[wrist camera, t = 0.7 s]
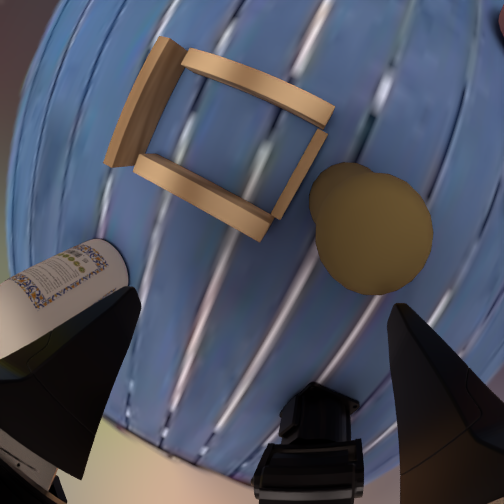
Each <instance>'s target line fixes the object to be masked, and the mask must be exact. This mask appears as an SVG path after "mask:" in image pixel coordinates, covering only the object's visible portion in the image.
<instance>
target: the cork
mask: <svg viewBox="0 0 504 504" xmlns="http://www.w3.org/2000/svg"><path fill="white" fill-rule="evenodd" d="M309 209H310V212H311V215H312V219H313V221H314V222H315V224H316V246H317V249H318V253H319V256H320V260H321V262H322V263H323V265H324V266H325V268H326V269H327V271H328V272H329V274H330V275H331V276H332V277H333V278H334V279H335V280H336V281H338V282H339V283H340V284H342V285H343V286H344V287H345V288H347V289H349V290H352V291H354V292H357V293H360V294H363V295H383V294H386V293H390V292H393V291H397V290H398V289H400V288H402V287H403V286H405V285H406V284H408V283H409V282H411V281H412V280H413V279H414V278H415V277H416V275H417V274H418V273H419V272H420V271H421V270H422V268H423V267H424V265H425V263H426V261H427V258H428V256H429V254H430V252H431V246H432V239H433V228H432V221H431V215H430V213H429V211H428V209H427V207H426V205H425V203H424V201H423V199H422V198H421V196H420V195H419V194H418V193H417V192H416V191H415V190H414V189H413V188H412V187H411V186H410V185H409V184H408V183H407V182H405V181H403V180H401V179H399V178H397V177H395V176H392V175H390V174H384V173H374V172H372V171H371V170H370V169H369V168H367V167H365V166H362V165H360V164H357V163H347V162H343V163H339V164H336V165H332V166H330V167H329V168H327V169H326V170H324V171H323V172H321V173H320V175H319V176H318V177H317V179H316V180H315V181H314V183H313V185H312V188H311V191H310V194H309Z"/></svg>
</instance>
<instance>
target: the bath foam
mask: <svg viewBox="0 0 504 504" xmlns="http://www.w3.org/2000/svg"><path fill="white" fill-rule="evenodd" d="M124 286H128V272H127V268H126V265H125V263H124V260H123V259H122V257H121V255H120V254H119V252H118V251H117V250H116V249H115V248H114V247H113V246H112V245H111V244H109V243H108V242H106V241H104V240H101V239H92V240H89V241H86V242H84V243H82V244H80V245H77V246H75V247H72V248H70V249H68V250H66V251H64V252H62V253H59V254H57V255H55V256H53V257H51V258H49V259H47V260H45V261H42V262H40V263H38V264H36V265H34V266H32V267H30V268H28V269H26V270H24V271H22V272H20V273H18V274H16V275H15V276H13V277H11V278H9V279H7V280H5V281H4V282H3V283H1V284H0V359H2V358H4V357H6V356H8V355H9V354H11V353H13V352H15V351H17V350H19V349H20V348H22V347H24V346H26V345H28V344H29V343H31V342H33V341H35V340H36V339H38V338H40V337H41V336H43V335H45V334H46V333H48V332H49V331H51V330H53V329H54V328H56V327H57V326H59V325H61V324H62V323H64V322H65V321H67V320H69V319H70V318H72V317H73V316H75V315H77V314H78V313H80V312H82V311H83V310H85V309H87V308H88V307H90V306H92V305H93V304H95V303H96V302H98V301H100V300H101V299H103V298H105V297H107V296H108V295H110V294H112V293H113V292H115V291H117V290H118V289H120V288H122V287H124Z"/></svg>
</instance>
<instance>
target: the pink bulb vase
mask: <svg viewBox="0 0 504 504" xmlns="http://www.w3.org/2000/svg"><path fill="white" fill-rule="evenodd" d="M498 22H499V25H500V30H501V32H502V34H503V36H504V5H503V8H502V10H501V12H500V14H499V21H498Z"/></svg>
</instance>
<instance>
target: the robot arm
mask: <svg viewBox="0 0 504 504" xmlns="http://www.w3.org/2000/svg"><path fill="white" fill-rule="evenodd" d="M140 311H141V302H140V299H139V297H138V294H137V291H136V289H135V288H134V287H130V286H124V287H122V288H120V289H118V290H117V291H115V292H113V293H112V294H110V295H108V296H107V297H105V298H103V299H101V300H100V301H98V302H96V303H95V304H93V305H92V306H90V307H88V308H87V309H85V310H83V311H82V312H80V313H78V314H77V315H75V316H73V317H72V318H70V319H69V320H67V321H65V322H64V323H62V324H61V325H59V326H57V327H56V328H54V329H53V330H51V331H49V332H48V333H46V334H45V335H43V336H41V337H40V338H38V339H36V340H35V341H33V342H31V343H29V344H28V345H26V346H24V347H22V348H20V349H19V350H17V351H15V352H13V353H11V354H9V355H8V356H6V357H4V358H2V359H0V504H67V499H66V497H65V494H64V491H63V489H62V486H61V483H60V480H59V477H58V476H57V475H56V472H57V470H58V468H59V469H61V470H62V471H64V472H66V473H68V474H70V475H71V476H73V477H75V478H77V479H79V480H82V477H83V474H84V471H85V467H86V464H87V461H88V457H89V454H90V451H91V448H92V445H93V442H94V438H95V435H96V432H97V429H98V426H99V423H100V420H101V418H102V415H103V412H104V409H105V406H106V404H107V401H108V398H109V396H110V393H111V390H112V388H113V385H114V383H115V380H116V377H117V375H118V372H119V370H120V367H121V365H122V362H123V360H124V358H125V355H126V353H127V350H128V348H129V345H130V343H131V340H132V337H133V333H134V330H135V327H136V324H137V321H138V318H139V314H140ZM387 331H388V344H389V361H390V371H391V377H392V384H393V391H394V399H395V407H396V416H397V426H398V438H399V454H400V475H401V476H400V504H504V402H503V401H501V400H500V399H499V398H498V397H497V396H496V395H495V394H494V393H493V392H492V391H491V390H490V389H489V388H488V387H487V386H486V385H485V384H484V383H483V382H482V381H481V380H480V378H479V377H478V376H477V375H476V374H475V373H474V372H473V371H472V370H471V369H470V368H468V366H467V364H466V363H465V362H464V361H463V360H462V359H461V358H460V357H459V356H458V355H457V354H456V353H455V352H454V351H453V350H452V348H451V347H450V346H449V345H448V344H447V343H446V342H445V341H444V340H443V339H442V338H441V337H440V336H439V335H438V334H437V333H436V332H435V331H434V330H433V329H432V328H431V327H430V326H429V325H428V324H427V323H426V322H425V321H424V320H423V319H422V318H421V317H420V316H419V315H418V314H417V313H416V312H415V311H414V310H413V309H412V308H411V307H409V306H408V305H407V304H406V303H396V304H394V306H393V308H392V311H391V314H390V316H389V319H388V323H387ZM312 387H314V388H312ZM354 405H355V406H354ZM359 407H360V404H359V402H358V401H355V400H353V399H351V398H348V397H346V396H343V395H341V394H339V393H336V392H334V391H332V390H330V389H327V388H325V387H323V386H321V385H318V384H316V383H310V384H309V385H308V386H307V387H306V388H305V389H304V390H303V391H302V392H301V393H300V394H299V395H296V396H295V397H294V398H293V399H292V400H291V401H289V402H288V403H287V404H286V405H285V406H284V408H283V410H282V411H281V412H280V417H281V423H280V428H279V433H278V434H279V436H280V437H282V441H281V444H274V443H269V444H268V446H267V448H266V449H265V451H264V453H263V455H262V458H261V460H260V462H259V464H258V466H257V469H256V471H255V473H254V476H253V477H252V479H251V484H252V485H253V486H254V495H255V497H256V499H259V504H354V498H360V497H362V495H363V487H364V463H363V452H362V442H361V439H355V440H351V421H350V415H351V414H352V413H353V412H354V411H356V410H357V409H358V408H359Z"/></svg>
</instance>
